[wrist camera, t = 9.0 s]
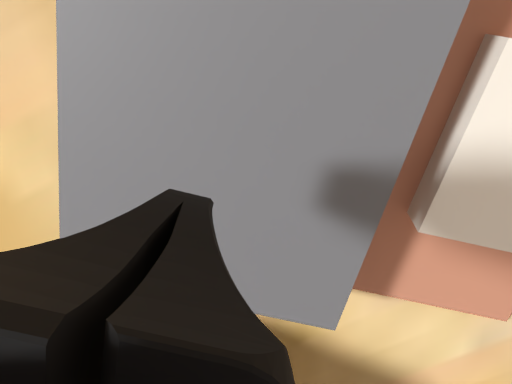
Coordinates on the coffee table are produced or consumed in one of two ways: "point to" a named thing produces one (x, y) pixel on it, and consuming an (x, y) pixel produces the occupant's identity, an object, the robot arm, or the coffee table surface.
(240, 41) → the deck
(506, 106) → the cream white tile
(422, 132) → the mat
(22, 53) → the coffee table surface
